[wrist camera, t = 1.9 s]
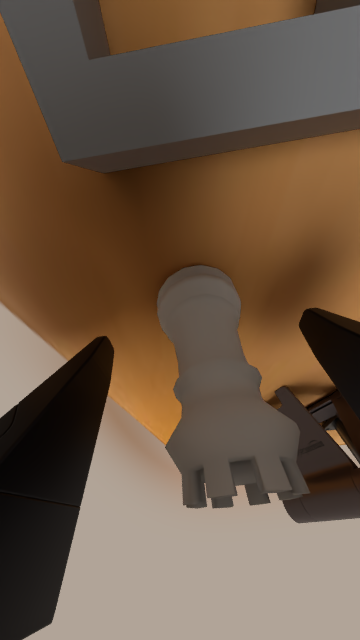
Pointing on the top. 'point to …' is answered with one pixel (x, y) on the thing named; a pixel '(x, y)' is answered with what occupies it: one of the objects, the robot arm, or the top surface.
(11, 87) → the top surface
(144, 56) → the rail
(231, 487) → the rook chess piece
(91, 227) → the top surface
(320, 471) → the portable electronic device stand
